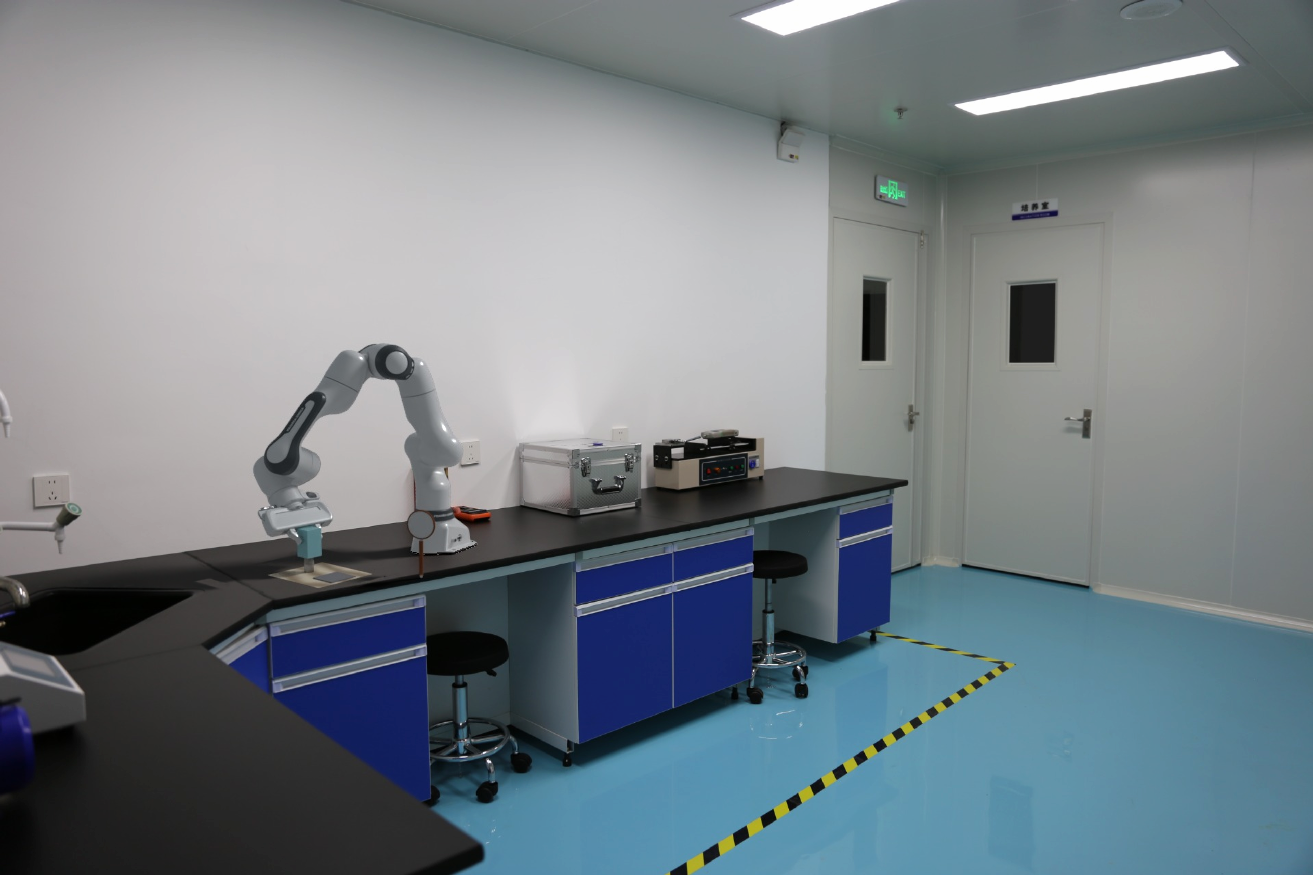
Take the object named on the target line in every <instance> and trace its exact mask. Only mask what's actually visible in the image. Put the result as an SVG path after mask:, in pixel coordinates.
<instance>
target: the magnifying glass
mask: <svg viewBox="0 0 1313 875" xmlns="http://www.w3.org/2000/svg"><path fill="white" fill-rule="evenodd" d="M406 529H407V530H408V532H409V534H410V536H412V537H415V538H417V539H420V541H419V554H418V575H419V578H420V579H422V578H423V576H424V554H423V541H422V539H427V538H429V537H430V536H431V535H432V534H433V533H434V531H435V520H434V518H433V516H432V515H431V514H430V513H429V512H427V511H425V510H416V511H414V510H413V512H411V513H410V514H409V516H407V520H406Z"/></svg>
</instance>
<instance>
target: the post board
mask: <svg viewBox="0 0 1313 875" xmlns="http://www.w3.org/2000/svg"><path fill="white" fill-rule="evenodd" d="M333 572H341V573H345V574H349V575H353V576H356V577H354V578H350V579H347V580H343V581H339V582H335V583H328V582H324V581H320V580H316V579H313V577H317V576H321V575H325V574H329V573H333ZM371 575H372V573H371V572H366V571H361V570H357V569H353V568H349V567H343V566H341V565H335V564H331V563H326V562H317V563H315V557H313V558H309V559H307V558H303V566H301V567H296V568H292V569H288V570H284V571H280V572H275V573H272V574H268V576H270V577H274V578H277V579H281V580H285V581H288V582H293V583H297V584H301V585H304V586H309V587H312V588H316V589H320V588H324V587H328V586H332V585H337V584H340V583H344V582H347V581H351V580H356V579H359V578H363V577H366V576H371Z"/></svg>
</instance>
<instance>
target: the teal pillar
mask: <svg viewBox="0 0 1313 875" xmlns="http://www.w3.org/2000/svg"><path fill="white" fill-rule="evenodd" d="M296 534H297V535H299V536H302V537H303V539H304V540H305V541H304V543H303V544H299V545H297V544H296V547H297V548H296V550H297V557H298V558H303V559H304V558H307V559H309V558H313V557H314V558H317V557H321V556H322V555H323V554H322V553H323V552H322V551H323V550H322V539H321V534H322V527H321V528H318V527H313V526H309V527H304V528H299V529H297V532H296Z"/></svg>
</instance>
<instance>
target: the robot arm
mask: <svg viewBox="0 0 1313 875" xmlns="http://www.w3.org/2000/svg"><path fill="white" fill-rule="evenodd" d="M370 378H372V379H374V378H375V379H376V380H377V379H378V380H381V381H382V380H383V381H384V380H388V381H390V380H391V381H394V382H395V383H396V385H397V388H398V390H399V395H400V400H401V403H402V406H403V407H402V408H403V410H404V413H405V417H406V419H407V421H408V422H409V424H410V426H412V428H413V429H414V431H415V432H412V433H410V434H409V435H408V436H407V438H406V439H405V441H404V445H403V446H404V447H403V448H404V449H403V450H404V452H405V454H406V456H407V458H408V459H409V462H410V465H411V470H412V474H413V478H414V483H415V484H414V485H415V507H414V510H413V512H414V511H416V510H425V511H427V512H429V513H430V514H431V515H432V516H433V518H434V520H435V531H434V533H433V534H432V535H431V536H430V537H429V538H427V539H422V541H423V553H437V552H455V551H457V550H460V549H462V548H466V547H468V546H472V545H474V544H475V543H477V541H475V540H472V539H471V537H470V535H471V534H470V529H469V527H468V526H466V525H465V524H464V523H462V522H461V521H460V520H458V519H457V518H456V516H455V514H460V512H461V508H460V507H456V506H453V507H452V506H451V502H452V501H451V498H452V496H451V495H452V494H451V493H452V492H451V491H452V490H451V482H450V480H449V479H448V476H447V475H446V471H445V468H446V469H447V468H452V467H455V466H457V465H458V464H459V463H460V462H461V460H462V459H463V457H464V447H463V444H462V443H461V441H460V440H459V439H458V438H457V437H456V436H455V434H454V432H453V431H452V428H451V426H450V425H449V423H448V422H447V420H446V418H445V415H444V413H443V411H442V406H441V403H440V401H439V396H438V393H437V389H436V385H435V382H434V379H433V377H432V374H431V370H430V369H429V367H428V365H427V363H426V362H425V360H423V359H422V358H418V357H411V356H410V354H409V353H408V352H407V351H406V350H405V349H404V348H403V347H401V346H399V345H396V344H390V343H384V342H382V343H373V344H369V345H366V346H364V347H362V349H360V350H358V351H355V350H352V349H345V350H342V351H341V352H340V353H338V355H337V356H336V357H335V358H334V359H333V361H332V363H331V364H330V365H329V366H328V368H327V370H326V371H325V373H324V374H323V377H322V379H321V380H320V382H319V384H318V385H317V386H316V388H315V389H314V390H313V391H311V393H309V394H307V395H306V397H305V398H304V399H303V400H302V402H301V403H299V405H298V407H297V409H296V410H295V411H294V412H293V415H291V417H290V419H289V421H287V423H286V424H285V426H284V427H283V429H282V431H281V432H280V433H279V434H278V436H276V437H275V438H274V439H273V440H272V441H271V442H269V444H268V445H267V447H266V449H265V451H264V454H263V455H262V456H260V457H259V458H258V459H257V460H256V461H255V463H254V464H253V468H252V470H253V471H252V472H253V476H254V479H255V481H256V483H257V485H258V487H259V489H260V491H261V492H262V494H263V495H265V497H266V499H267V502H268V504H269V505H270V506H266V507H265V506H264V507H261V508H259V510H258V511H257V517H258V518H259V519H260V520H261V524H262V527H263V529H264V532H265V533H266V535H267V536H269V537H270V538H274V537H275V538H276V537H280V536H285V535H287V537H288V538H290V539H291V540H293V541H295V543H296V546H297V545H299V544H303V543H304V541H305V540H304V539H303V537H302V536H299V535H297V529H299V528H304V527H309V526H313V527H318V528H321V529H322V528H324V527H328V526H330V525H331V523H332V522H333V520H334V515H333V513H332V511H331V510H330V508H329V507H328V504H326V503H325V501H323V500H321V499H320V498H321V495H320V494H319V493H318V492H314V491H309V490H303V489H299V486H302V485H304V484H306V483H308V482H310V481H311V480H314V478H315V477H317V475H319V472H320V469H321V465H322V463H321V459H320V455H319V454H317V453H316V452H314V451H313V450H311V449H308V448H306V447H304V446H302V444H303V442H304V441H305V438H306V437H307V435H308V434H309V433H310V431H311V429H313V426H314V425H315V424H316V422H317V421H318V420H320V418H323V417H326V416H331V415H340V414H343V413H345V412H347V411H349V409H350V408H351V407H352V405H353V404H354V403H355V401H356V399H357V398H358V395H359V394H360V391H361V389H362V388H363V385H364V384H365V383H366V382H367V381H368V380H369V379H370ZM412 537H413V536H412ZM322 539H323V534H322V533H321V540H322ZM419 541H420V539H417V538H415V537H413V538H412V543H411V548H410V552H411V551H412V552H411V553H413V552H417V553H419ZM472 541H473V542H472ZM477 544H478V543H477ZM417 553H416V554H417Z"/></svg>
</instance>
